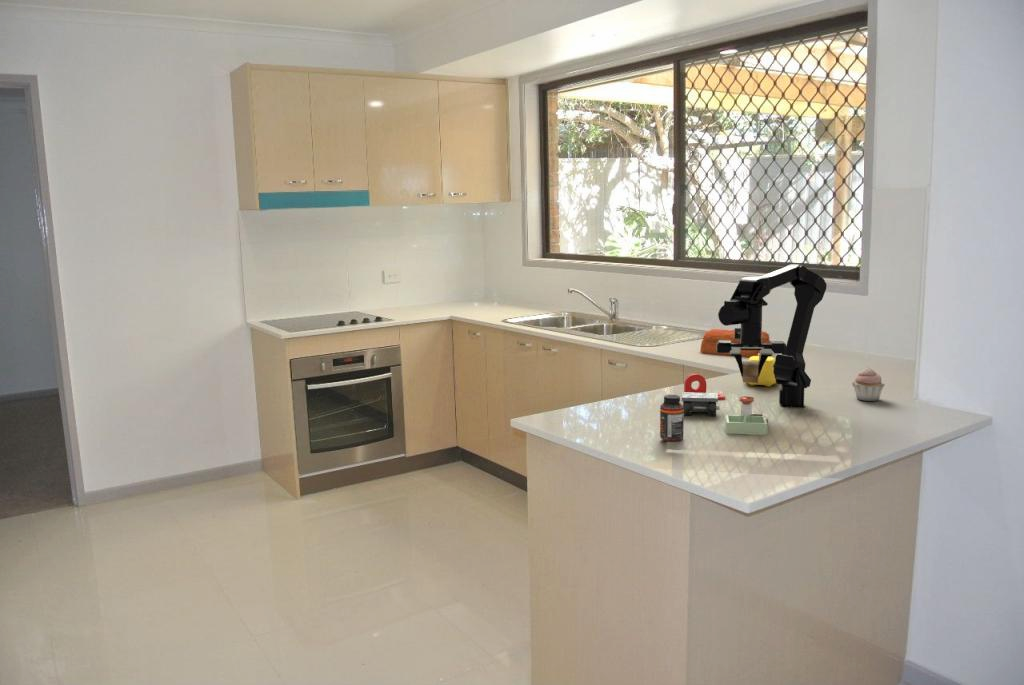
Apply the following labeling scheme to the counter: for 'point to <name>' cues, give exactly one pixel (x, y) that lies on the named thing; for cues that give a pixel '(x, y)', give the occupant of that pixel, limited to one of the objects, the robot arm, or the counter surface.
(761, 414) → the pin socket
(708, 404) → the trolley
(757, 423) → the tray
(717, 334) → the bread
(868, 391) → the cupcake
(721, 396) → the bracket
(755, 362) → the block
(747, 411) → the pin
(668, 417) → the supplement bottle
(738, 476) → the counter surface
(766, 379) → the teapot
